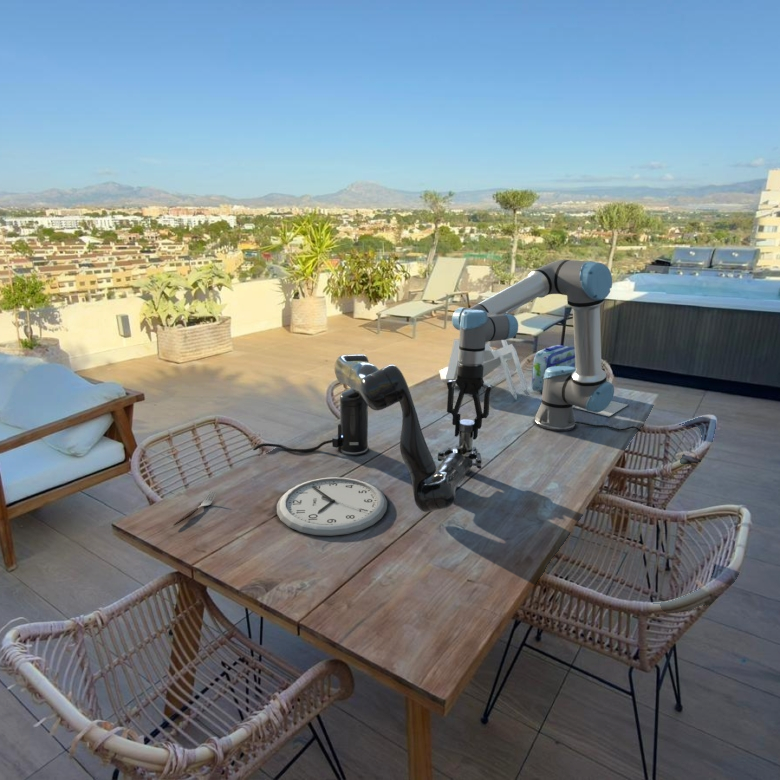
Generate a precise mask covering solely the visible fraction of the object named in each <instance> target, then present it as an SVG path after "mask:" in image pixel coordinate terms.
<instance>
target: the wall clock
mask: <svg viewBox="0 0 780 780" xmlns="http://www.w3.org/2000/svg"><path fill="white" fill-rule="evenodd" d="M387 509H388V500H387V498H386V496H385V494H384V493H383V492H382V491H381V490H380V489H379V488H377V487H376V486H374V485H372V484H371V483H369V482H365V481H362V480H359V479H355V478H349V477H338V476H337V477H335V476H333V477H332V476H331V477H322V478H317V479H312V480H307V481H305V482H302V483H299V484H297V485H295V486H293V487H292V488H290V489H288V490H287V491H286V492H285V493H284V494H283V495H281V496H280V498H279V499H278V502H277V503H276V515H277V517H278V518H279V520H280V521H281V522H282V523H283V524H285V525H286V526H287V527H288V528H290V529H293V530H295V531H297V532H299V533H303V534H308V535H312V536H327V537H328V536H329V537H331V536H332V537H333V536H342V535H350V534H352V533H356V532H361V531H363V530H366V529H368V528H369V527H372V526H373V525H375V524H376V523H378V522H379V521H380V520H381V519H382V518H383V517H384V516H385V514H386V512H387Z"/></svg>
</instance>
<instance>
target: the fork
mask: <svg viewBox="0 0 780 780" xmlns="http://www.w3.org/2000/svg"><path fill="white" fill-rule="evenodd" d="M217 494H218V492H214V491H212V490H210V491H209V493H208V494H207V496H206V497H205V499H204V500H203V501H202V502H201V504H200V505H199V506H198V507H195V508H194V509H192V510H191V511H189V512H187V513H186V514H184V515H183V516H182V517H181V518H179V519H178V520H177V521H176V522H175V523H174V524H173V526H176V525H178V524H180V523H181V522H182V521H184V520H186V519H188V518H190V517H191V516H192V515H194V514H195V513H197V511H198V510H199V509H200V508H202V507H209V506H210V505H211V504H212V503H213V502H214V500H215V498H216V496H217Z"/></svg>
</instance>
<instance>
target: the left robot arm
mask: <svg viewBox="0 0 780 780" xmlns="http://www.w3.org/2000/svg"><path fill="white" fill-rule="evenodd" d="M333 369H334V375H335V378H336V380H337V381H338V382H339V384H342V385H346V386H347V387H349V388H348V389H347V390H344V391H342V392H341V393H340V395H339V423H338V424H337V434H336V435H335V436H333V437H332V439H327V440H325V441H322V442H320V443H319V444H318V445H316V446H314V447H310V448H291V447H289V446H285V445H283V444H279V443H269V442H268V443H267V442H266V443H260V444H258V445H256V446H255V447H254V448H253V449H252V451H257V450H258V449H260V448H262V447H263V448H264V447H272V448H280V449H283V450H285V451H289V452H295V453H308V452H313V451H316V450H319V449H320V448H321V447H323V446H324V445H327V444H331V445H332V446H331V447H332V448H336V449H337V451H338V452H341V453H342V454H344V455H347V456H360V455H365V454H366V453H367V452H368V451H369V441H368V439H369V438H368V437H369V416H368V415H369V408H370V409H372V410H374V411H375V412H376V411H377V412H378V411H382V410H384V409H386V408H389V407H391V406H393V405H395V404H396V403H399V405H400V408H401V417H402V421H401V431H400V439H399V451H400V455H401V458H402V460H403V463H404V465H405V467H406V469H407V471H408V473H409V476H410V480H411V485H412V486H411V487H412V492H413V500H414V503H415V505H416V507H417V508H418V509H419V510H420V511H422V512H423V513H430V512H434V511H439V510H440V511H441V510H445V509H449V508H450V507H452V506H453V505H454V504H455V502H456V493H457V491H456V490H457V488H458V486H459V485H460V483H462V481H463V480H464V479H465V477H466V475H467V474H466V473H467V471H468V469H469V468H471V469H472V467H473V466H474V467H476V469H478V470H479V469H482V461H483V459H482V456H481V453H480V452H478V448H477V447H476V446H472V450H471V452H467V453H465V454H459V453H458V450H459V444H457V445H455V447H453V448H451V447H446V448H444V449H442V450H441V451H438V452H437V461H438V462H441V463H440V464H439V466H438V467H437V465H436V462H435V460H434V458H433V456H432V453H431V451H430V449H429V447H428V444H427V442H426V440H425V437H424V434H423V431H422V428H421V424H420V420H419V417H418V414H417V410H416V406H415V404H414V401H413V398H412V394H411V391H410V387H409V385H408V382H407V380H406V378H405V376H404V374H403V372H402V371H401V369H400V368H399V367H398V366H397V365H394V364H389V365H387V366H384V367H381V368H380V369H379V367H377V366H376V365H374V364H373V363H371V362H369V358H368V356H367V355H366V354H343V355H340V356H338V357H337V358H336V359H335V362H334V368H333ZM429 478H431V479H430V483H427V482H426V480H428V479H429Z"/></svg>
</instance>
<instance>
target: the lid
mask: <svg viewBox="0 0 780 780" xmlns="http://www.w3.org/2000/svg"><path fill="white" fill-rule="evenodd" d="M458 429H459V430H460V431H462V432H474V419H473V420H472V419H460V421H459V423H458Z"/></svg>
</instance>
